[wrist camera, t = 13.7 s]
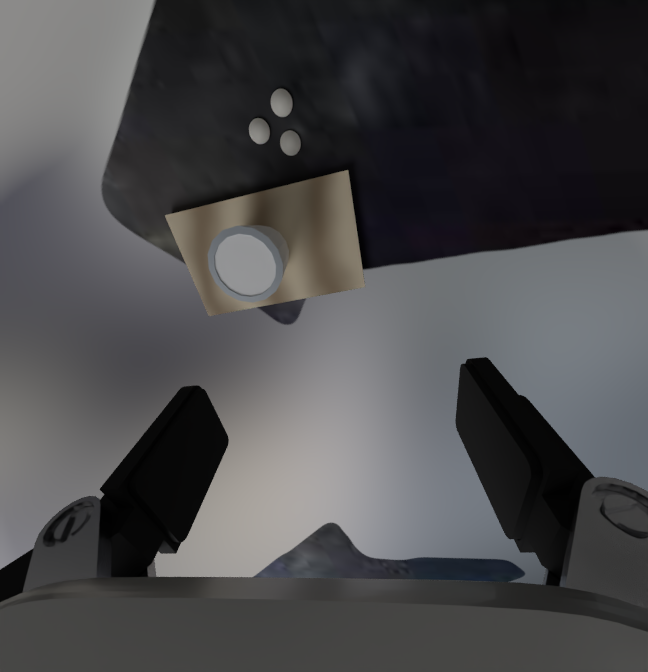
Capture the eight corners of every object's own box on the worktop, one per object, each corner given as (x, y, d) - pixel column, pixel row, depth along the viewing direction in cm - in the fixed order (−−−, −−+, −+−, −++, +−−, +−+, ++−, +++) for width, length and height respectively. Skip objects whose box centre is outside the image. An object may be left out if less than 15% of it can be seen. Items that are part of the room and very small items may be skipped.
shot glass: (271, 293, 32) (255, 316, 26) (222, 254, 31) (193, 270, 24) (307, 249, 30) (298, 263, 24) (256, 204, 28) (232, 207, 22)
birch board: (347, 170, 27) (348, 169, 26) (364, 284, 33) (365, 287, 31) (171, 214, 30) (164, 215, 29) (212, 312, 35) (208, 316, 34)
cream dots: (289, 86, 24) (289, 86, 24) (302, 152, 27) (302, 152, 26) (241, 101, 25) (240, 100, 25) (258, 164, 27) (257, 164, 27)
